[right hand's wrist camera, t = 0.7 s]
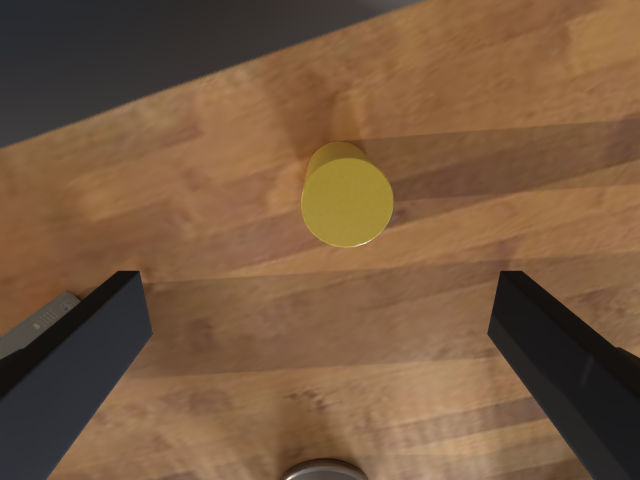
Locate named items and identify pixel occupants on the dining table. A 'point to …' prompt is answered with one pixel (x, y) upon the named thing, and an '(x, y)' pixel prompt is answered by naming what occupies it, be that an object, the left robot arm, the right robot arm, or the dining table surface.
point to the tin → (345, 196)
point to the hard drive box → (36, 324)
